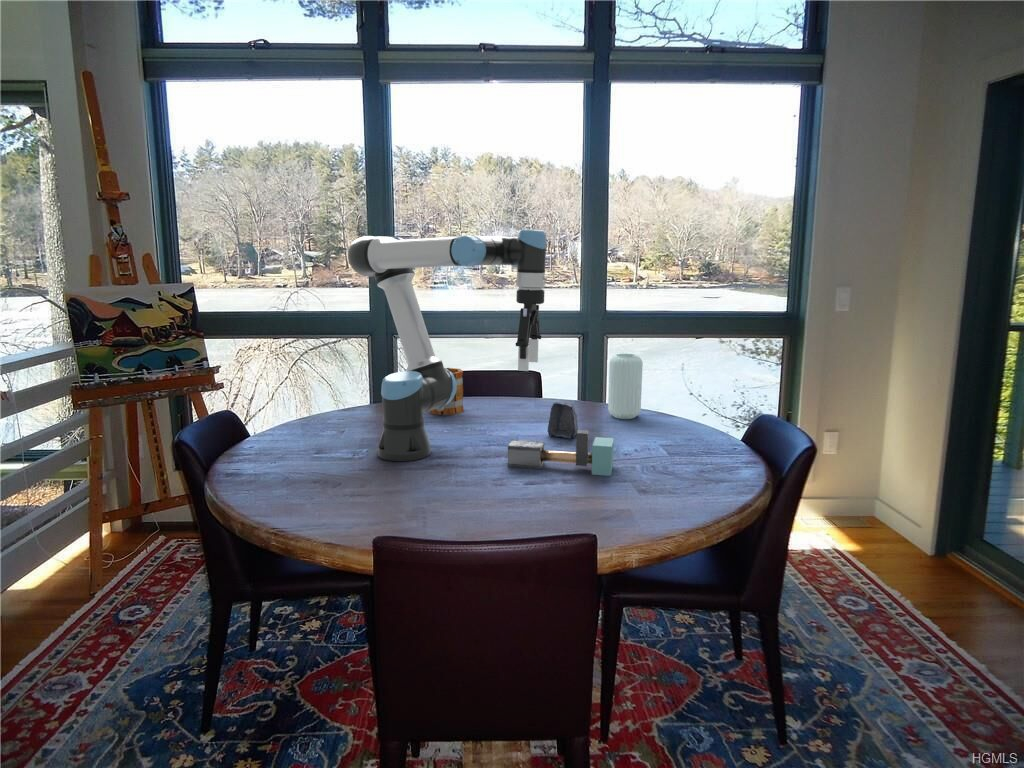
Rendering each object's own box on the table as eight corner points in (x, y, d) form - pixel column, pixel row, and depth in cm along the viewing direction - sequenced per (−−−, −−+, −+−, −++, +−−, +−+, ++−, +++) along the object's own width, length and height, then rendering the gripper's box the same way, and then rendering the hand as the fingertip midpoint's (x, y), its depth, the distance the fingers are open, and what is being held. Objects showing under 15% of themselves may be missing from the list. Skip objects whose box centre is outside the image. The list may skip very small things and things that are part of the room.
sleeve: (507, 467, 178) (507, 445, 177) (512, 460, 184) (512, 439, 182) (540, 469, 176) (540, 448, 175) (543, 462, 182) (544, 441, 181)
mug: (432, 406, 249) (431, 367, 246) (467, 407, 247) (466, 368, 244) (419, 418, 230) (418, 377, 227) (457, 420, 228) (456, 377, 225)
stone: (568, 446, 203) (540, 433, 207) (577, 443, 212) (550, 431, 216) (582, 411, 202) (554, 398, 205) (590, 410, 211) (563, 398, 214)
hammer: (532, 462, 178) (532, 430, 176) (534, 458, 181) (534, 427, 179) (605, 467, 173) (606, 434, 172) (606, 463, 176) (607, 431, 175)
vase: (616, 411, 241) (618, 351, 237) (645, 415, 234) (648, 354, 230) (602, 417, 232) (603, 355, 227) (631, 422, 225) (634, 358, 221)
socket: (591, 474, 172) (592, 445, 170) (594, 465, 180) (595, 437, 178) (610, 475, 171) (611, 446, 169) (612, 466, 179) (613, 438, 177)
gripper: (535, 292, 163) (532, 375, 167) (551, 286, 186) (549, 359, 191) (506, 291, 164) (504, 373, 169) (526, 285, 188) (524, 357, 193)
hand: (528, 366), depth 180 cm, fingers open, 13 cm apart
